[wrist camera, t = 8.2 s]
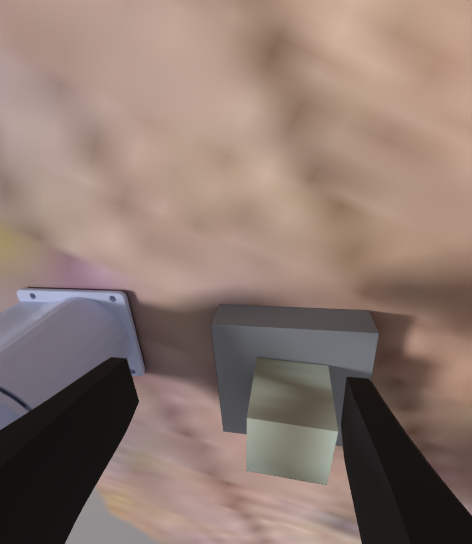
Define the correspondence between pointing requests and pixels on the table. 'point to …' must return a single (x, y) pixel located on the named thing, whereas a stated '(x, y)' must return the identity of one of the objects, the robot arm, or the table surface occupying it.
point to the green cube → (291, 421)
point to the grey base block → (288, 350)
